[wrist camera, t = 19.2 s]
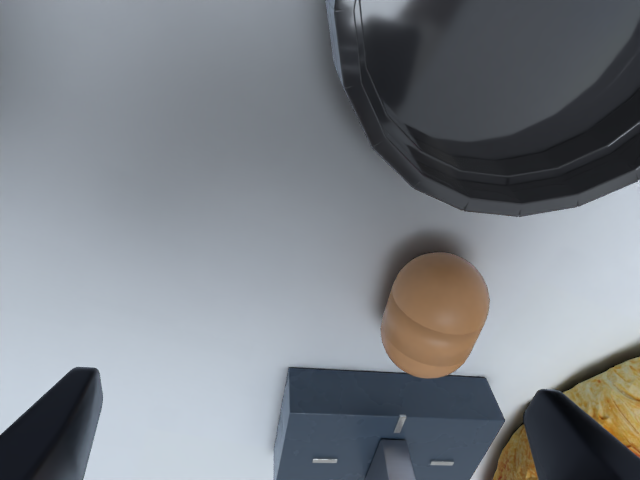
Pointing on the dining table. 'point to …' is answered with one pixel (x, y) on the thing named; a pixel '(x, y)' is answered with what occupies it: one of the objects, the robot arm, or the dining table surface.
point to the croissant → (598, 402)
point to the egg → (434, 314)
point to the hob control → (382, 423)
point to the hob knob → (391, 462)
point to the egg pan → (496, 96)
